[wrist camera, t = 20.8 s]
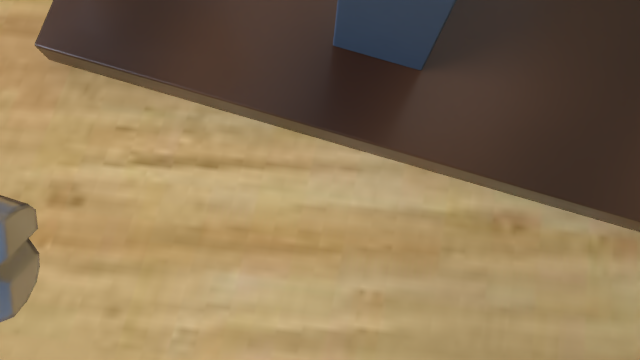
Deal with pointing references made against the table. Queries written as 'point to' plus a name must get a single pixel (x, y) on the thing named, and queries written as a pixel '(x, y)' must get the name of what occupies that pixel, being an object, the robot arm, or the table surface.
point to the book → (391, 28)
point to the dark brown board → (402, 85)
